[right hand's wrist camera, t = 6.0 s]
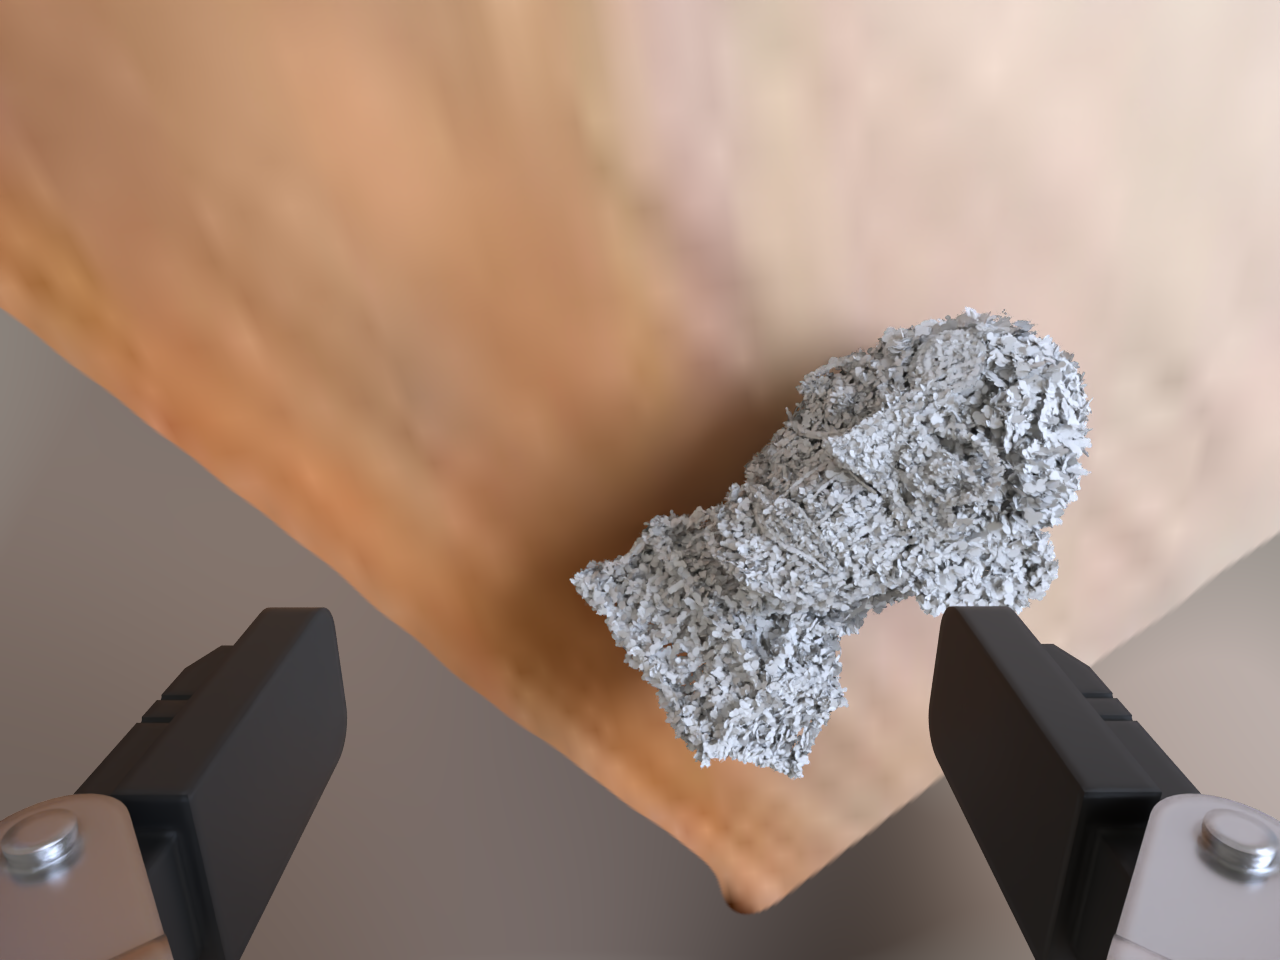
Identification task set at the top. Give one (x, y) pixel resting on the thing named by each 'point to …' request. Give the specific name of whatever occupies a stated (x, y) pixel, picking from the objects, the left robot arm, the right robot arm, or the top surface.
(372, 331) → the top surface
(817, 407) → the rock
